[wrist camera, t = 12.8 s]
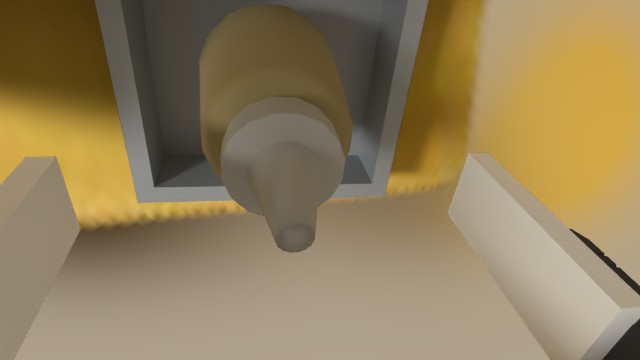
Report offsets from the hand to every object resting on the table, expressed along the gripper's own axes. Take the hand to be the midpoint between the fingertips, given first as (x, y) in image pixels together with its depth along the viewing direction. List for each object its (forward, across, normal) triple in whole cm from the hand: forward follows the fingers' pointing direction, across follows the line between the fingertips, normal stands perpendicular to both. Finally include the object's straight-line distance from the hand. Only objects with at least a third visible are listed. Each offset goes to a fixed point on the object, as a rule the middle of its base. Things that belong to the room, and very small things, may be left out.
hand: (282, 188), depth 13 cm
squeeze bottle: (+16, 0, 0) cm, 16 cm away
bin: (+16, 0, 0) cm, 17 cm away
